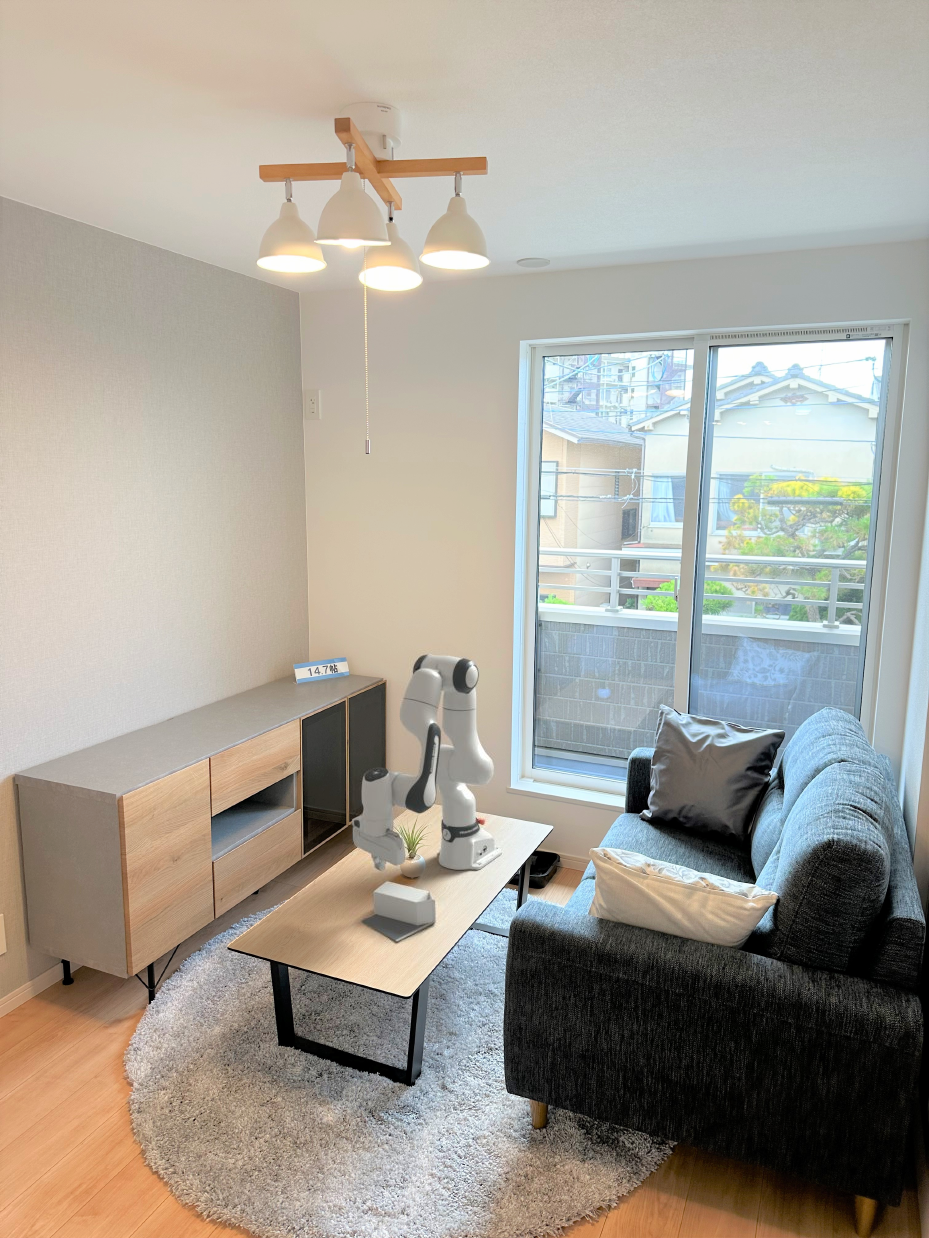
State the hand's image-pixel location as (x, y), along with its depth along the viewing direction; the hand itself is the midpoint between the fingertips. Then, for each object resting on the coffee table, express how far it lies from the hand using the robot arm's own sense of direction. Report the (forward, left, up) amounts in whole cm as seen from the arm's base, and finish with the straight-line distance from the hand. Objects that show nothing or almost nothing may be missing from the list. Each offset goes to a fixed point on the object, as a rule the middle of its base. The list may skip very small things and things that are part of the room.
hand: (380, 869), depth 242 cm
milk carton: (-1, -2, -10) cm, 10 cm away
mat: (0, +8, -14) cm, 16 cm away
